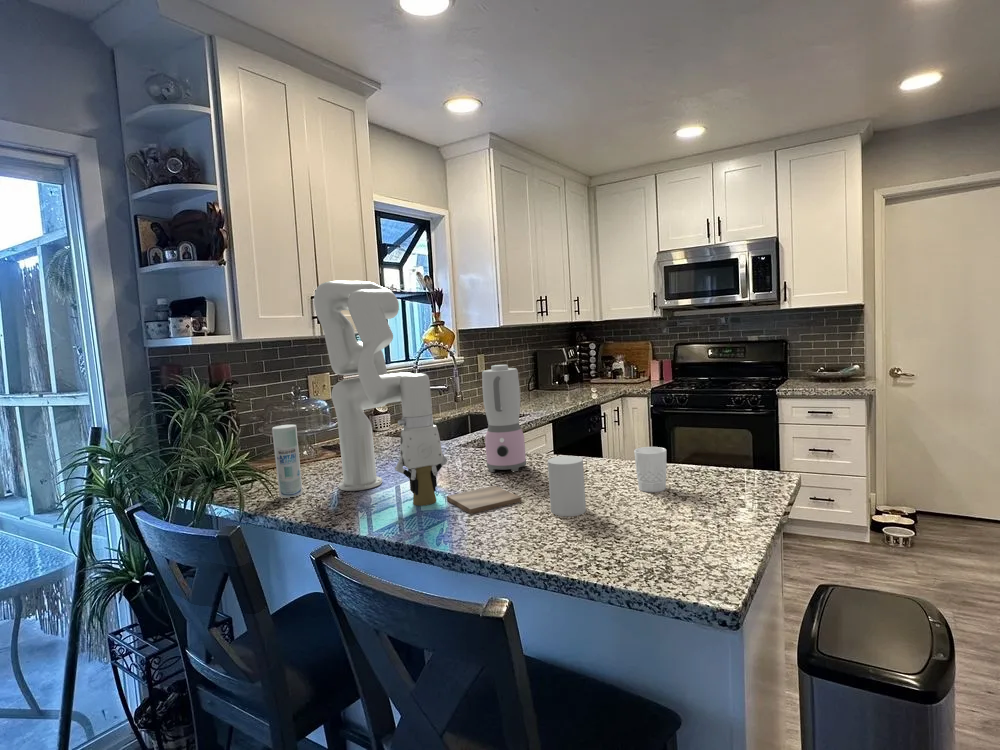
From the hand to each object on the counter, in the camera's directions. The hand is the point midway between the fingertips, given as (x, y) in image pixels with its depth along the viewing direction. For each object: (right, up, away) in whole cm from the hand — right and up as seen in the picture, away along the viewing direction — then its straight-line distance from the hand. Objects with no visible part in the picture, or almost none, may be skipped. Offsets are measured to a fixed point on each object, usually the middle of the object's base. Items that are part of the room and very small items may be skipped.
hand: (424, 491), depth 148 cm
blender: (+22, +1, +28) cm, 35 cm away
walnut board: (+16, -2, -3) cm, 16 cm away
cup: (+36, -2, -15) cm, 39 cm away
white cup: (+58, +1, -2) cm, 58 cm away
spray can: (-40, -5, +16) cm, 43 cm away
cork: (0, -3, 0) cm, 3 cm away
